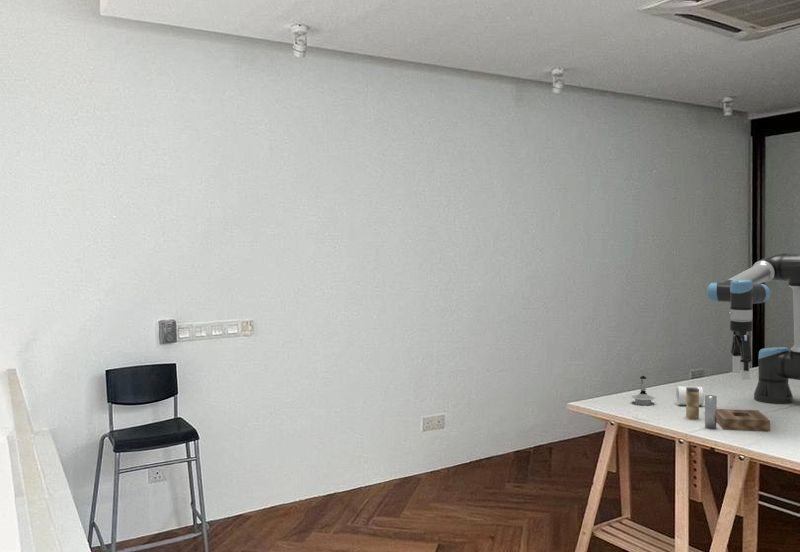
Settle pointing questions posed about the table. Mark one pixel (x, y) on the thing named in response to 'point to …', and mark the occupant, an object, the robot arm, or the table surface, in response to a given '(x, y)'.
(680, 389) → the mug
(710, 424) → the round bit
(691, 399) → the square bit
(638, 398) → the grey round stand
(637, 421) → the table surface
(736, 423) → the bore block
